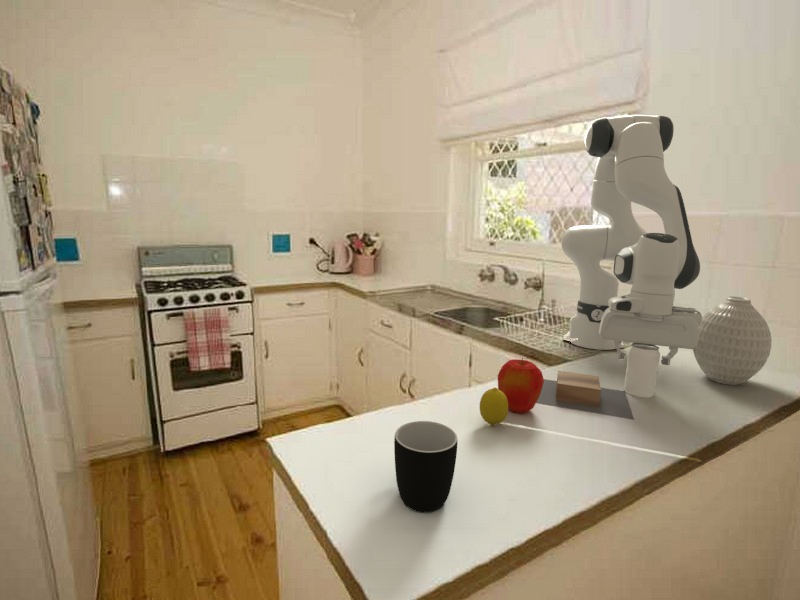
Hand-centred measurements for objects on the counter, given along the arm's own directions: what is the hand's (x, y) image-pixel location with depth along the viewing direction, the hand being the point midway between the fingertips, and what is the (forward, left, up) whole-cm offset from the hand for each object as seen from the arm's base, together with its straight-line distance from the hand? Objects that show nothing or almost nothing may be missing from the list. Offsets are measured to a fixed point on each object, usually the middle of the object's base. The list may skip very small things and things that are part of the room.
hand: (642, 361), depth 103 cm
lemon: (+31, -30, -8) cm, 44 cm away
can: (0, 0, -8) cm, 8 cm away
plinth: (+9, -14, -8) cm, 18 cm away
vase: (-20, +23, -8) cm, 32 cm away
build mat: (+9, -14, -8) cm, 18 cm away
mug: (+57, -37, -8) cm, 68 cm away
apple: (+22, -26, -8) cm, 35 cm away
